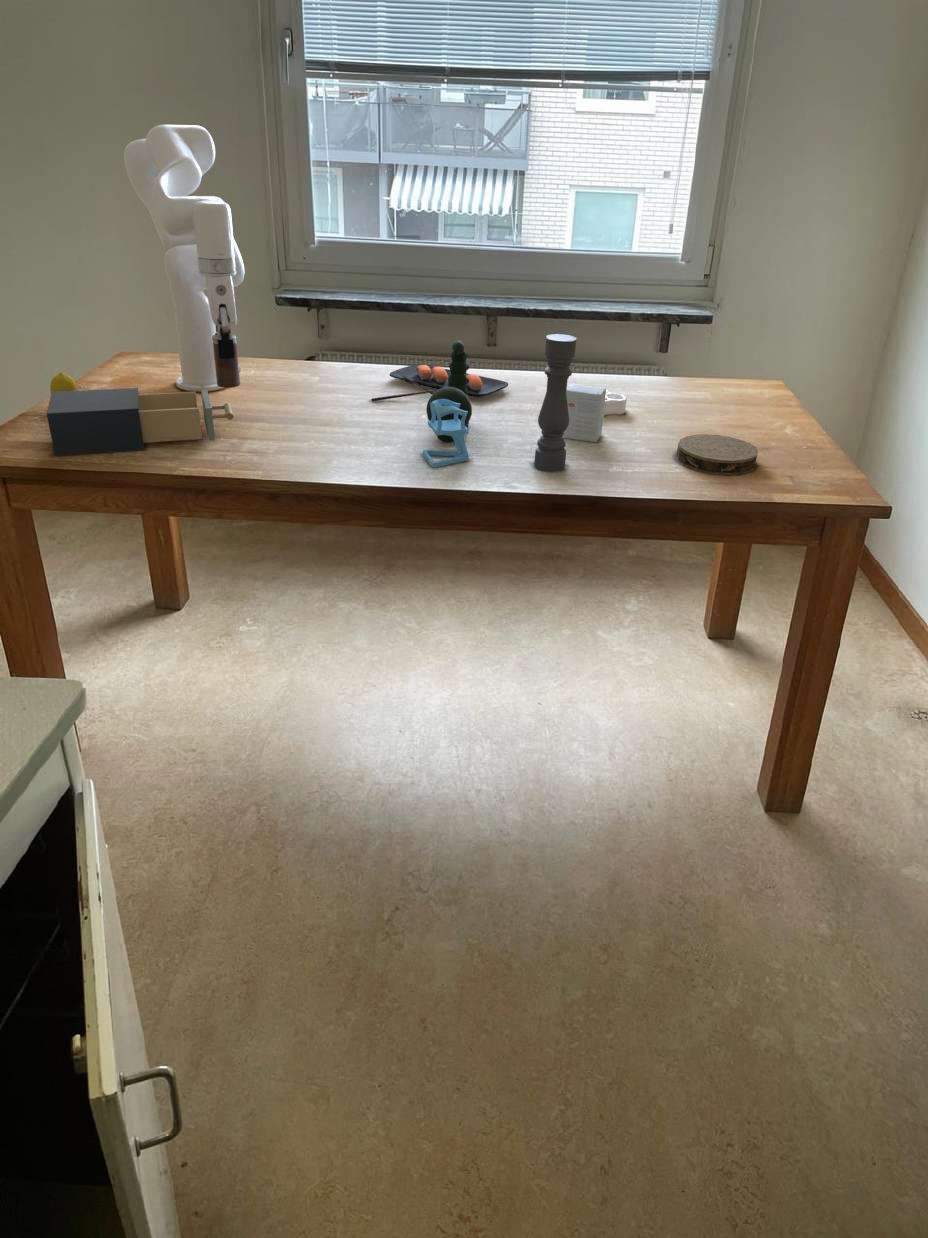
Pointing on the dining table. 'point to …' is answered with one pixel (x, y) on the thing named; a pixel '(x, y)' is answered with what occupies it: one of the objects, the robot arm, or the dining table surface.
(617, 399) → the white brass knuckles
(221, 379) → the brown lidded jar
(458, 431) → the chair
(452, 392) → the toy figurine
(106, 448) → the cabinet
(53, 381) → the lemon
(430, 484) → the dining table surface
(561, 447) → the candle holder
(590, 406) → the small box
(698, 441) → the tambourine
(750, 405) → the dining table surface
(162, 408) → the drawer
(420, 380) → the sushi plate
